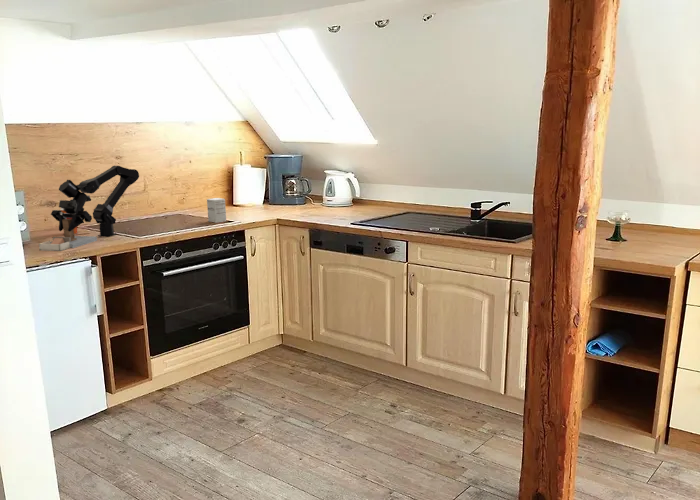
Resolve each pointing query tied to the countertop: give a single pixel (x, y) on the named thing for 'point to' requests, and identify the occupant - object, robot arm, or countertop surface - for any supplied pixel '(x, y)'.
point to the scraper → (67, 235)
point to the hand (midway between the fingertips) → (64, 230)
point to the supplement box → (216, 210)
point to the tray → (53, 246)
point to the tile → (58, 241)
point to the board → (81, 241)
